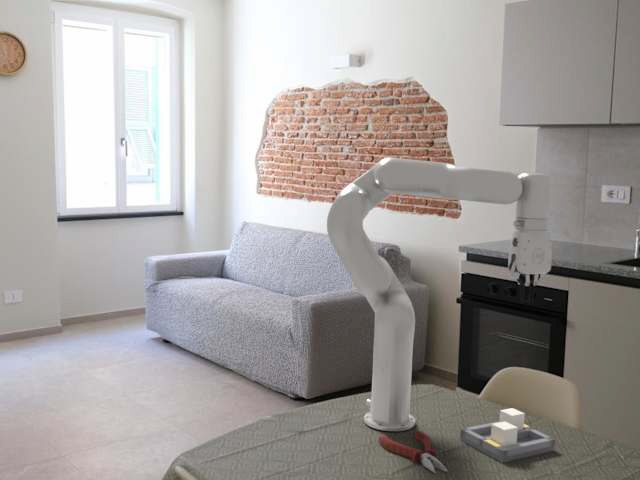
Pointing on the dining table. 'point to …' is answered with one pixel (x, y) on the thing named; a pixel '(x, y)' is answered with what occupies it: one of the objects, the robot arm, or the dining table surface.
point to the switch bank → (526, 446)
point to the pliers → (415, 451)
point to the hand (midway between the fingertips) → (526, 301)
